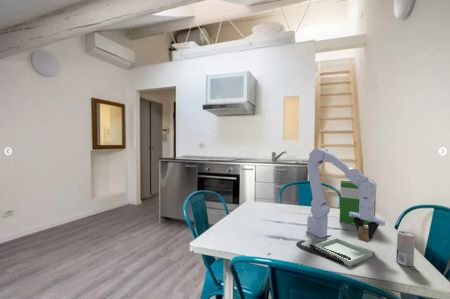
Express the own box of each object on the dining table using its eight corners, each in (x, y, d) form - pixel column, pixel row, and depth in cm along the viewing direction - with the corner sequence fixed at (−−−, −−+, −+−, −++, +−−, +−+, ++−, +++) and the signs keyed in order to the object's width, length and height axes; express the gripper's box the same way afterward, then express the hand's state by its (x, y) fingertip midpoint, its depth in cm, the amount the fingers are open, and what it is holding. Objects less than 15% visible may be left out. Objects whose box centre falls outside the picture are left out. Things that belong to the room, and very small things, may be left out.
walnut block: (358, 239, 103) (358, 226, 102) (363, 237, 105) (363, 224, 104) (367, 242, 99) (368, 229, 99) (372, 240, 101) (372, 227, 101)
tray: (314, 249, 99) (314, 244, 99) (336, 241, 107) (336, 237, 107) (349, 267, 86) (349, 261, 86) (372, 256, 94) (372, 251, 94)
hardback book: (339, 221, 136) (341, 182, 135) (339, 218, 142) (340, 180, 142) (374, 227, 128) (376, 185, 127) (372, 223, 135) (374, 183, 134)
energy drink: (405, 260, 92) (407, 230, 91) (417, 267, 86) (418, 236, 86) (392, 260, 92) (394, 230, 91) (403, 267, 86) (405, 236, 86)
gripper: (389, 209, 97) (388, 240, 98) (355, 201, 110) (354, 229, 110) (381, 211, 94) (379, 244, 94) (347, 203, 106) (345, 232, 106)
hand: (365, 236), depth 102 cm, fingers closed on walnut block, 4 cm apart
